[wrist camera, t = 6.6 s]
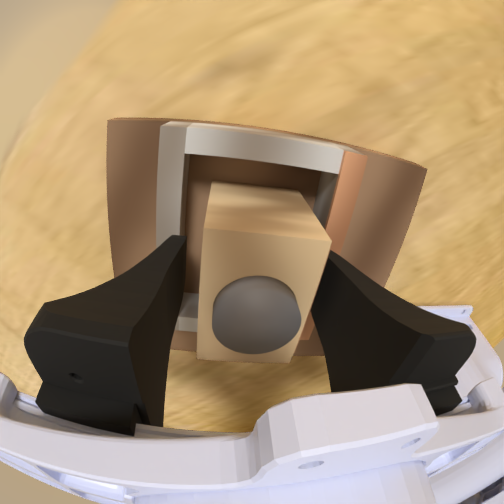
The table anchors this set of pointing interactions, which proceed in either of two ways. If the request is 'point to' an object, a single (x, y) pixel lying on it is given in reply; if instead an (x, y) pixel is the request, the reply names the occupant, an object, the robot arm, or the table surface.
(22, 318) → the table surface
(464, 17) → the table surface
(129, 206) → the board
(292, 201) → the knob block
